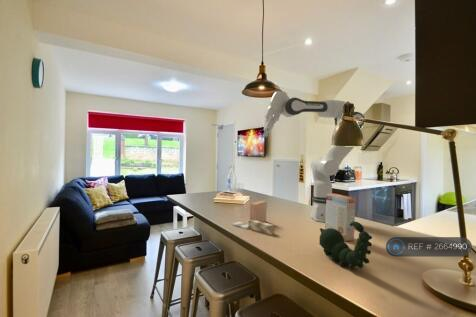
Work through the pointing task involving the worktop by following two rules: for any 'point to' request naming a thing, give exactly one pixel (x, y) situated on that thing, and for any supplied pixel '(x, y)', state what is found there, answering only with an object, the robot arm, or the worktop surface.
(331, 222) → the cracker box
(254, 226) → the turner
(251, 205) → the tile
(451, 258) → the worktop surface
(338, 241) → the toy figurine
